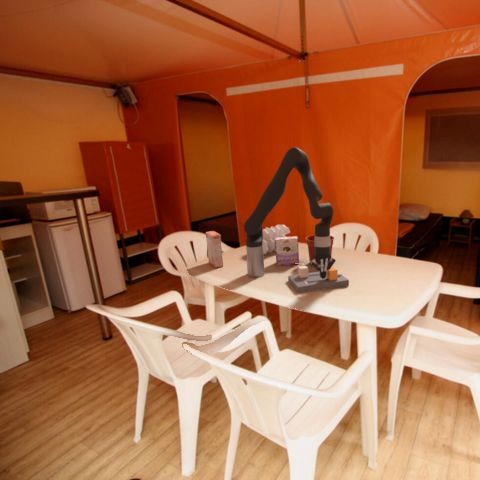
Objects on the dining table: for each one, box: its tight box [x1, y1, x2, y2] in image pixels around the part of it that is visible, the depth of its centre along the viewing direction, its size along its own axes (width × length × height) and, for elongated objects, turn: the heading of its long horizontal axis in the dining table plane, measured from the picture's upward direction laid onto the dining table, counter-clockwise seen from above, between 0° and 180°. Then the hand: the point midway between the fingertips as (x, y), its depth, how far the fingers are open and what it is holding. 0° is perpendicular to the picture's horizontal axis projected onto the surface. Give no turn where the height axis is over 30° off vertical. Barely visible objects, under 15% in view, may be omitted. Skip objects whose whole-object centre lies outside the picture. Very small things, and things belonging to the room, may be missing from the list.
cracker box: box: [205, 230, 224, 269], centre depth 208 cm, size 14×6×21 cm, turn 22°
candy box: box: [275, 235, 300, 266], centre depth 200 cm, size 14×6×16 cm, turn 84°
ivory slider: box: [297, 265, 309, 278], centre depth 169 cm, size 4×4×5 cm
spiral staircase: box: [262, 224, 291, 255], centre depth 227 cm, size 18×18×25 cm
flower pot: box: [305, 234, 335, 267], centre depth 194 cm, size 16×16×16 cm
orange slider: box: [326, 267, 339, 281], centre depth 163 cm, size 4×4×5 cm
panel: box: [287, 271, 350, 294], centre depth 167 cm, size 26×16×4 cm, turn 99°
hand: (323, 278), depth 163 cm, fingers closed
